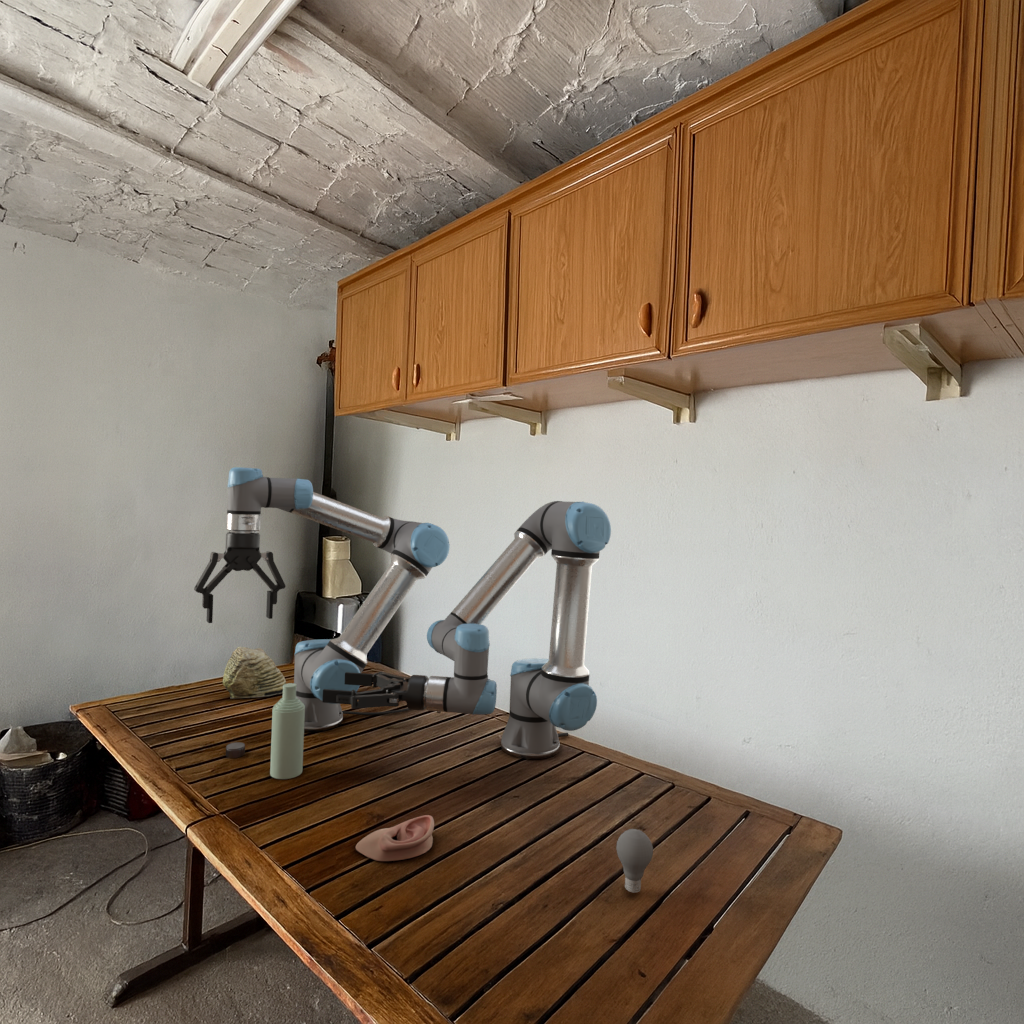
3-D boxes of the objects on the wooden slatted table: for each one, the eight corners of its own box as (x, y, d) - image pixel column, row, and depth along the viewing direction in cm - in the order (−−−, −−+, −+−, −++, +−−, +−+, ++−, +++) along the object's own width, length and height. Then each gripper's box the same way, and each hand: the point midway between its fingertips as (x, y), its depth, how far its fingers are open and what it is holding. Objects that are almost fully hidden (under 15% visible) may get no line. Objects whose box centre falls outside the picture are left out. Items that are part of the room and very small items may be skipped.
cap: (242, 758, 151) (242, 748, 151) (223, 758, 151) (223, 749, 151) (246, 751, 155) (247, 742, 155) (228, 751, 155) (229, 742, 155)
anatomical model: (348, 834, 112) (375, 804, 123) (347, 856, 112) (374, 824, 123) (419, 845, 109) (440, 813, 120) (418, 868, 109) (439, 834, 121)
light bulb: (610, 879, 108) (613, 822, 108) (644, 879, 109) (647, 822, 109) (619, 902, 102) (622, 840, 102) (655, 901, 103) (658, 840, 103)
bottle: (278, 782, 140) (281, 691, 139) (264, 771, 145) (268, 684, 144) (307, 773, 145) (311, 685, 144) (293, 763, 150) (297, 678, 149)
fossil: (218, 695, 195) (220, 647, 195) (278, 685, 208) (279, 640, 207) (228, 703, 189) (230, 653, 188) (289, 692, 201) (290, 645, 201)
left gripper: (188, 532, 142) (185, 627, 142) (300, 533, 156) (297, 618, 157) (182, 530, 148) (179, 621, 148) (291, 531, 162) (288, 613, 163)
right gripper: (412, 729, 129) (312, 721, 131) (437, 692, 154) (352, 687, 156) (414, 693, 129) (313, 685, 131) (438, 662, 154) (353, 656, 156)
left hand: (240, 620), depth 152 cm, fingers open, 13 cm apart
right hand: (334, 686), depth 143 cm, fingers open, 13 cm apart
